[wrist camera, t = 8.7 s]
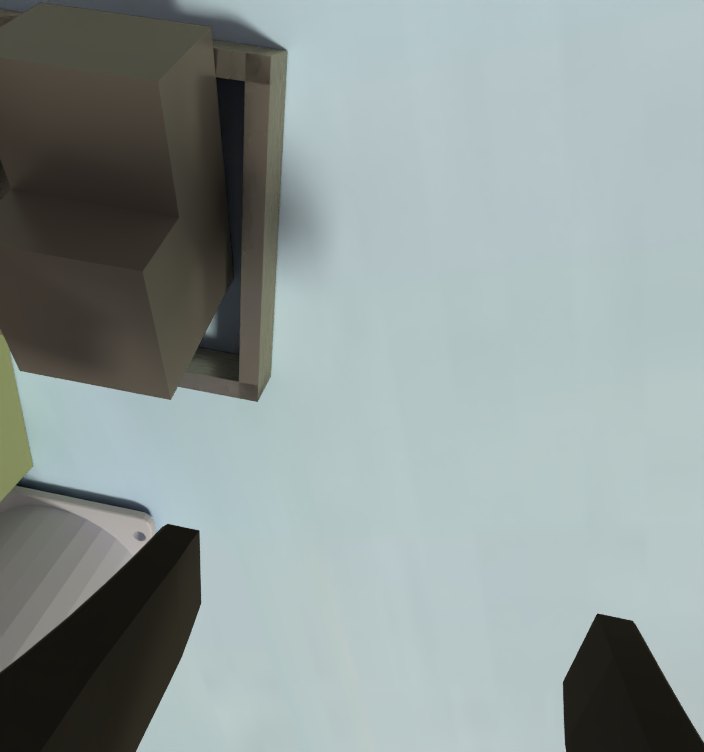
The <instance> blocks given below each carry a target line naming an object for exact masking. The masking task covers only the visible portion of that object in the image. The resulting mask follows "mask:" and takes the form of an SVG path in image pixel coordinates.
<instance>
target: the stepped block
mask: <svg viewBox="0 0 704 752" xmlns="http://www.w3.org/2000/svg"><path fill="white" fill-rule="evenodd" d="M0 160H1V162H2V165H3V168H4V170H5V173H6V176H7V179H8V181H9V184H10V187H11V190H10V191H9V192H8V193H7V194H6V195H5V196H4V197H3V198H2V199H1V200H0V329H1V331H2V334H3V336H4V338H5V340H6V342H7V344H8V346H9V349H10V351H11V353H12V355H13V357H14V359H15V362H16V364H17V366H18V368H19V370H20V371H24V372H29V373H34V374H39V375H44V376H50V377H55V378H60V379H65V380H70V381H76V382H81V383H86V384H91V385H96V386H102V387H107V388H112V389H117V390H122V391H128V392H133V393H138V394H143V395H148V396H154V397H159V398H164V399H169V400H171V399H172V397H173V395H174V393H175V391H176V389H177V387H178V385H179V383H180V381H181V379H182V377H183V375H184V373H185V371H186V369H187V367H188V365H189V364H190V362H191V360H192V358H193V356H194V354H195V352H196V350H197V348H198V346H199V344H200V342H201V340H202V338H203V336H204V334H205V332H206V330H207V328H208V326H209V325H210V323H211V321H212V319H213V317H214V315H215V313H216V311H217V309H218V307H219V305H220V303H221V301H222V299H223V297H224V295H225V293H226V291H227V289H228V287H229V285H230V284H231V282H232V280H233V278H234V275H233V264H232V253H231V241H230V230H229V219H228V208H227V197H226V186H225V175H224V163H223V152H222V141H221V130H220V119H219V108H218V96H217V85H216V74H215V63H214V52H213V41H212V30H211V27H209V26H202V25H195V24H188V23H181V22H174V21H167V20H160V19H153V18H146V17H139V16H132V15H125V14H118V13H111V12H104V11H97V10H90V9H83V8H76V7H69V6H62V5H55V4H48V3H39V4H38V5H36V6H34V7H33V8H31V9H29V10H28V11H26V12H25V13H23V14H21V15H20V16H18V17H16V18H15V19H13V20H12V21H10V22H8V23H7V24H5V25H3V26H2V27H0Z"/></svg>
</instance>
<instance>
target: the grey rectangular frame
mask: <svg viewBox="0 0 704 752" xmlns="http://www.w3.org/2000/svg"><path fill="white" fill-rule="evenodd" d="M21 14H23V12H16V11H9V10H3V9H0V27H2V26H3V25H5V24H7V23H8V22H10V21H12V20H13V19H15V18H16V17H18V16H20V15H21ZM212 41H213V52H214V63H215V74H216V77H219V78H226V79H233V80H239V81H245V102H244V153H243V204H242V255H241V305H240V355H237V354H231V353H226V352H220V351H215V350H210V349H204V348H199V347H198V348H197V350H196V352H195V354H194V356H193V358H192V360H191V362H190V364H189V365H188V367H187V369H186V371H185V373H184V375H183V377H182V379H181V381H180V383H179V385H178V387H183V388H188V389H193V390H198V391H204V392H209V393H214V394H219V395H225V396H230V397H235V398H240V399H246V400H251V401H256V402H258V400H259V398H260V396H261V394H262V392H263V390H264V388H265V387H266V385H267V383H268V381H269V379H270V377H271V362H272V342H273V323H274V303H275V284H276V264H277V245H278V226H279V206H280V187H281V167H282V148H283V128H284V109H285V89H286V70H287V51H286V50H279V49H272V48H265V47H258V46H251V45H245V44H238V43H231V42H224V41H217V40H212ZM10 190H11V187H10V184H9V181H8V179H7V176H6V173H5V170H4V168H3V165H2V162H1V160H0V200H1V199H2V198H3V197H4V196H5V195H6V194H7V193H8V192H9V191H10ZM0 335H3V334H2V331H1V329H0Z"/></svg>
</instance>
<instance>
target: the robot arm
mask: <svg viewBox="0 0 704 752" xmlns="http://www.w3.org/2000/svg"><path fill="white" fill-rule="evenodd" d="M141 532H142V533H141ZM200 605H201V578H200V536H199V530H194V529H189V528H184V527H180V526H175V525H170V524H167V525H165V526H163V527H162V528H161V529H160V530H159V531H158V532H157V533H155V523H154V520H153V518H152V517H151V516H150V515H148V514H147V513H144V512H141V511H136V510H131V509H126V508H121V507H117V506H112V505H107V504H102V503H97V502H92V501H88V500H83V499H78V498H73V497H68V496H64V495H59V494H54V493H49V492H44V491H39V490H35V489H30V488H25V487H20V486H14V487H13V489H12V490H11V491H10V492H9V493H8V494H7V495H6V496H5V497H4V498H3V499H2V501H1V502H0V752H136V750H137V748H138V746H139V744H140V742H141V740H142V738H143V736H144V734H145V732H146V729H147V727H148V725H149V723H150V721H151V719H152V717H153V715H154V713H155V711H156V709H157V707H158V705H159V703H160V701H161V699H162V697H163V695H164V693H165V691H166V689H167V687H168V685H169V682H170V680H171V678H172V676H173V674H174V672H175V670H176V668H177V666H178V664H179V662H180V660H181V657H182V655H183V652H184V649H185V647H186V644H187V641H188V639H189V636H190V633H191V630H192V628H193V625H194V622H195V619H196V616H197V613H198V611H199V608H200ZM563 701H564V729H565V746H566V752H704V742H703V741H702V739H701V737H700V736H699V734H698V733H697V731H696V729H695V728H694V726H693V724H692V723H691V721H690V719H689V718H688V716H687V714H686V713H685V711H684V709H683V707H682V706H681V704H680V702H679V701H678V699H677V697H676V695H675V694H674V692H673V690H672V688H671V687H670V685H669V683H668V681H667V680H666V678H665V676H664V674H663V673H662V671H661V669H660V667H659V666H658V664H657V662H656V660H655V658H654V657H653V655H652V653H651V651H650V649H649V648H648V646H647V644H646V642H645V640H644V639H643V637H642V635H641V633H640V632H639V630H638V628H637V626H636V625H635V623H634V622H633V621H631V620H626V619H621V618H616V617H612V616H607V615H602V614H597V615H596V617H595V619H594V621H593V623H592V625H591V627H590V629H589V631H588V633H587V635H586V637H585V639H584V641H583V643H582V645H581V647H580V649H579V651H578V653H577V655H576V657H575V659H574V661H573V663H572V665H571V667H570V669H569V671H568V673H567V675H566V677H565V679H564V681H563Z"/></svg>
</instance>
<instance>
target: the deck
mask: <svg viewBox="0 0 704 752" xmlns="http://www.w3.org/2000/svg"><path fill="white" fill-rule="evenodd" d="M32 467H33V463H32V458H31V453H30V448H29V444H28V439H27V434H26V429H25V424H24V419H23V415H22V410H21V405H20V400H19V395H18V390H17V385H16V381H15V376H14V371H13V366H12V361H11V356H10V351H9V347H8V344H7V342H6V340H5V338H4V336H3V335H0V502H1V501H2V499H3V498H4V497H5V496H6V495H7V494H8V493H9V492H10V491H11V490H12V489H13V487H14V486H15V485H16V484H17V483H18V482H19V481H20V480H21V479H22V478H23V477H24V475H25V474H26V473H27V472H28V471H29V470H30V469H31V468H32Z"/></svg>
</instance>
